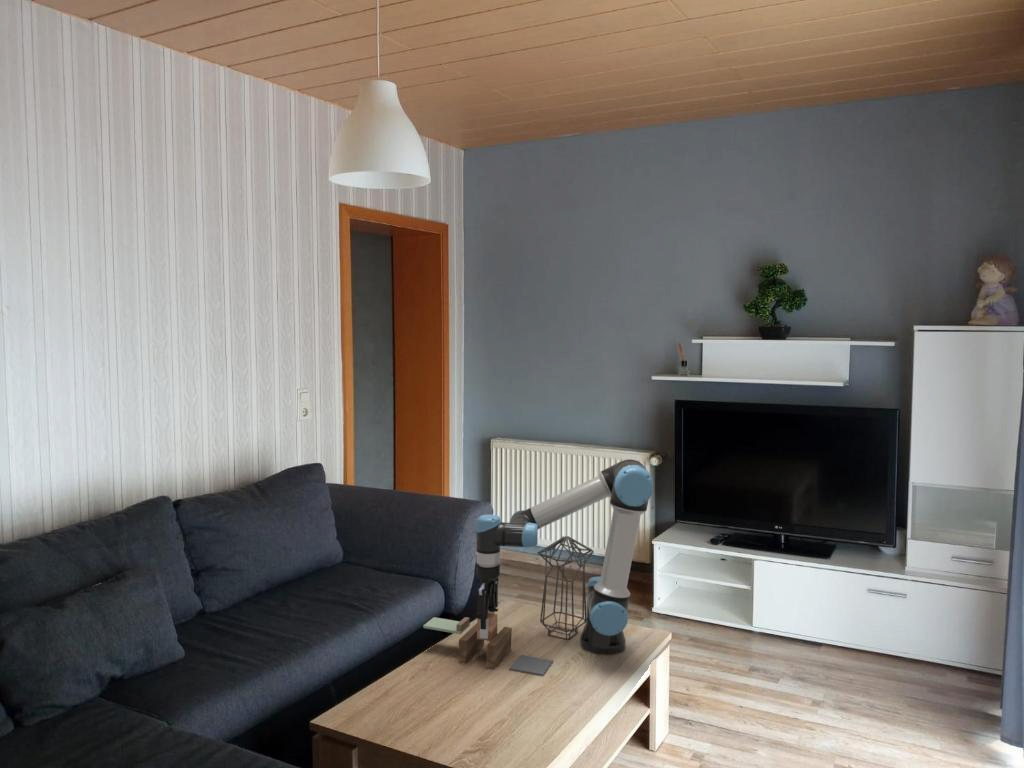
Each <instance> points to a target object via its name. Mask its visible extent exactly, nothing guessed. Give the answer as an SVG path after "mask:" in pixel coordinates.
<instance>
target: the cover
mask: <svg viewBox="0 0 1024 768" xmlns="http://www.w3.org/2000/svg"><path fill="white" fill-rule="evenodd" d="M422 626H423V629H427V630H434V631H439V632H446V633H451V634H456V635H461V634H462V633H464V632H465V630H467V629H468V628H469V627H470V626H471V623H470V617H468V616H467V617H466V616H465V617H463V618H462V619H461V620H459V621H458V620H453V619H448V618H441V617H435V616H434V617H432V618H431V619H430V620H428V621H427V622H425V624H423V625H422Z"/></svg>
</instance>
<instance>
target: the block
mask: <svg viewBox="0 0 1024 768" xmlns="http://www.w3.org/2000/svg"><path fill="white" fill-rule="evenodd" d="M488 618H489V630H488V639H483V638H480V619H477V618H476V620H477V621H476V623H477V639H480V640H484V641H488V642H490V641H491V640H492V639H493V638H494V637H495V636H496V635H497V634H498V613H495V614H491V613H488Z"/></svg>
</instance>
